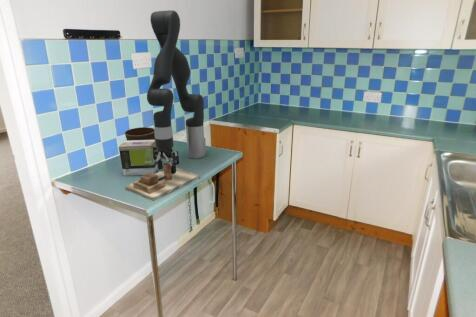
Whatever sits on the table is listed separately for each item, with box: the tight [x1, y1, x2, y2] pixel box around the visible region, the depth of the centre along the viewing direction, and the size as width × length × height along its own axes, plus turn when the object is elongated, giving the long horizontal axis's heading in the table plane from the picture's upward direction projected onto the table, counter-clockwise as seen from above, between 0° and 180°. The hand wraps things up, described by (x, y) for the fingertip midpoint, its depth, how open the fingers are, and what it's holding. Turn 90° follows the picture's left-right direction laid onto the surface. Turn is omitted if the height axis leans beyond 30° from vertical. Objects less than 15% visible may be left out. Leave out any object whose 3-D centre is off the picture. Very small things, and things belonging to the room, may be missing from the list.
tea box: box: [118, 139, 159, 176], centre depth 151 cm, size 15×10×15 cm
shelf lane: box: [124, 167, 201, 201], centre depth 140 cm, size 27×18×4 cm, turn 144°
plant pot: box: [124, 126, 155, 141], centre depth 164 cm, size 15×15×16 cm
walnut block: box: [139, 162, 172, 186], centre depth 137 cm, size 14×5×7 cm, turn 144°
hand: (166, 171), depth 141 cm, fingers open, 8 cm apart
